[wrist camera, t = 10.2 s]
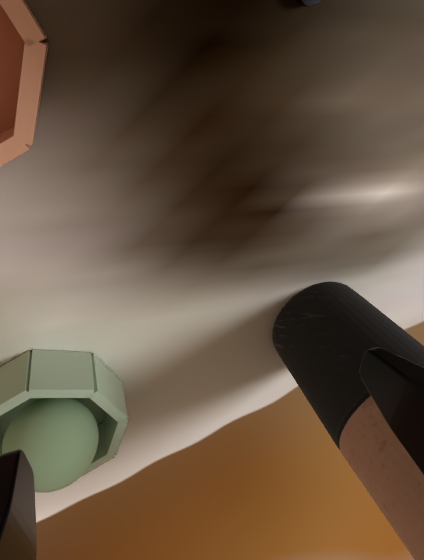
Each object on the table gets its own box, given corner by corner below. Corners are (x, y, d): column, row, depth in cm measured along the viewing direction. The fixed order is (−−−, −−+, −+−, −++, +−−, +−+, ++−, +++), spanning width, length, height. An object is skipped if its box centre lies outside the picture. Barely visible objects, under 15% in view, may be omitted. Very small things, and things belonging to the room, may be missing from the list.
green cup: (68, 327, 21) (69, 365, 19) (140, 400, 26) (148, 436, 24) (-61, 401, 21) (-77, 449, 18) (37, 460, 26) (35, 503, 23)
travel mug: (371, 271, 27) (821, 611, 11) (345, 350, 31) (646, 682, 15) (276, 285, 24) (673, 741, 9) (261, 368, 29) (513, 784, 13)
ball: (60, 363, 22) (66, 435, 18) (108, 404, 25) (122, 473, 21) (-16, 410, 21) (-28, 494, 17) (42, 445, 24) (43, 523, 21)
